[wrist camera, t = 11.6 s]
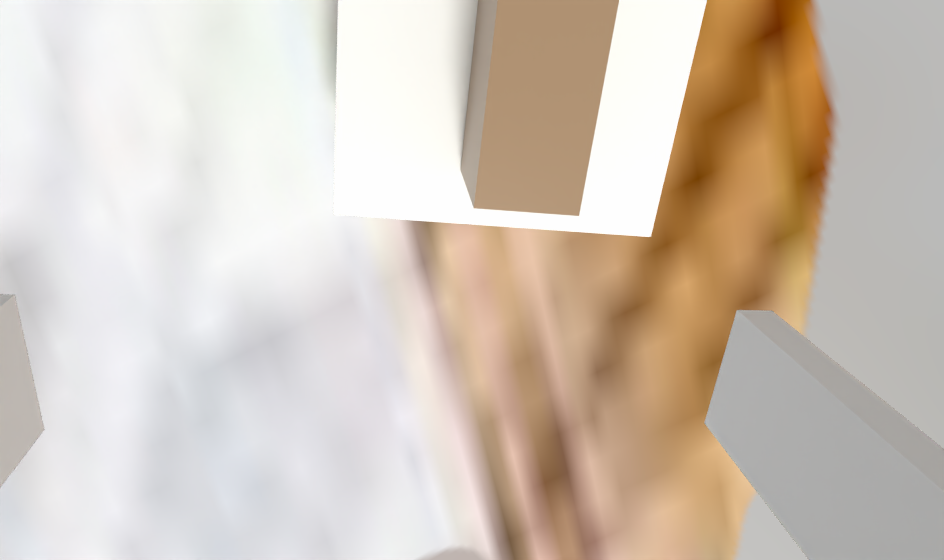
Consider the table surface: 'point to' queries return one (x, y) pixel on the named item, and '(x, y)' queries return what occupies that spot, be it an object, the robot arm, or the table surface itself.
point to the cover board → (429, 113)
